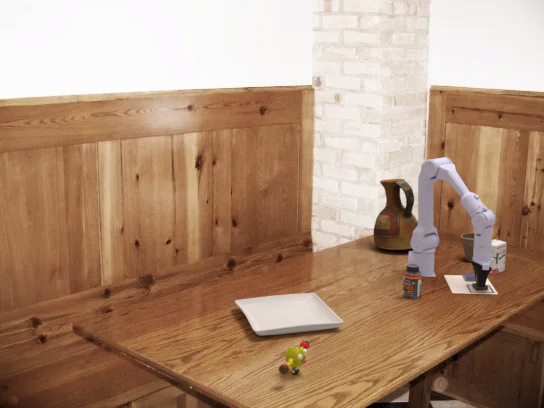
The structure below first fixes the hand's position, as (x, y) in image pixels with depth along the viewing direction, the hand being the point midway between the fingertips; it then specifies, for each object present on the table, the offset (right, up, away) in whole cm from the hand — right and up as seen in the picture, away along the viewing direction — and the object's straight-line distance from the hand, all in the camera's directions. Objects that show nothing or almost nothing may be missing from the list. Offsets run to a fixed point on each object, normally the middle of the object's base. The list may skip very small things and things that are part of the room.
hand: (480, 284), depth 232 cm
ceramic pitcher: (-19, +8, +53) cm, 57 cm away
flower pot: (+9, +5, +36) cm, 37 cm away
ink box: (+11, +2, +20) cm, 23 cm away
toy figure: (-65, -15, -60) cm, 90 cm away
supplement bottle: (-25, -4, -6) cm, 26 cm away
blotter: (-2, -1, +6) cm, 6 cm away
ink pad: (+1, +1, +11) cm, 11 cm away
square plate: (-67, -9, -24) cm, 72 cm away
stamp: (0, -1, 0) cm, 2 cm away
